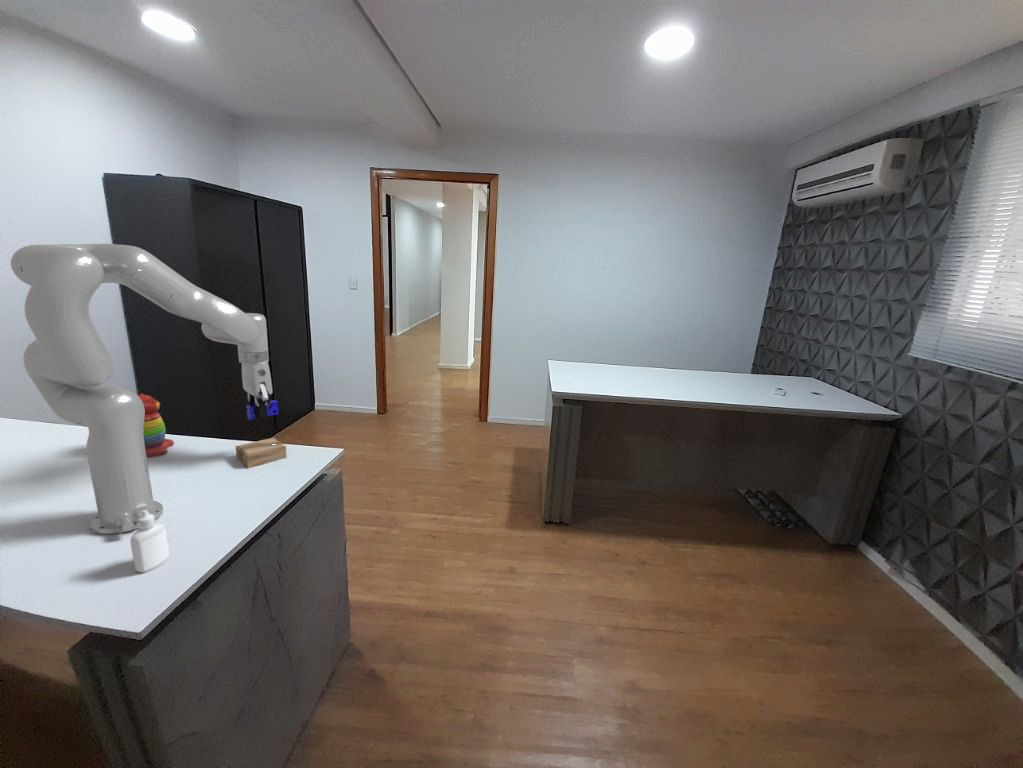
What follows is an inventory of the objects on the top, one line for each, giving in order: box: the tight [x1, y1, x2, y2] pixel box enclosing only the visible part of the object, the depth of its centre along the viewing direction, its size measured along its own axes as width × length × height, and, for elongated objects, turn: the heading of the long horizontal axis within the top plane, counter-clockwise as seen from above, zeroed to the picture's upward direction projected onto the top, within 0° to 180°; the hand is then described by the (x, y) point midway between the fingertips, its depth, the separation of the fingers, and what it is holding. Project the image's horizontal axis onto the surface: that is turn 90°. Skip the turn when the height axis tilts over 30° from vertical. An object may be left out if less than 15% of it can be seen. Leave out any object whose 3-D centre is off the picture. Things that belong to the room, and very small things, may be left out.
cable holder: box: [246, 399, 279, 421], centre depth 131 cm, size 8×4×4 cm, turn 142°
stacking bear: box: [137, 393, 175, 458], centre depth 131 cm, size 11×10×18 cm
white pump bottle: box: [130, 510, 171, 574], centre depth 85 cm, size 4×6×12 cm
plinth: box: [235, 437, 287, 469], centre depth 133 cm, size 9×11×4 cm
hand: (258, 415), depth 130 cm, fingers closed on cable holder, 3 cm apart
